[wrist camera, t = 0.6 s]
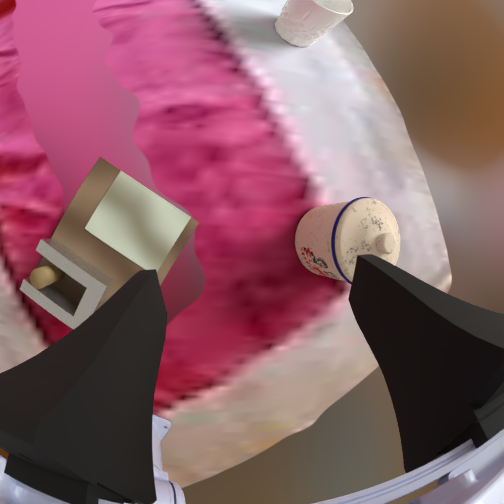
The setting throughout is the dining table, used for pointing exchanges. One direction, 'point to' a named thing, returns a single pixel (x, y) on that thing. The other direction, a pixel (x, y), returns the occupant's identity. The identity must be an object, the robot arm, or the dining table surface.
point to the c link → (78, 270)
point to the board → (116, 231)
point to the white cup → (310, 19)
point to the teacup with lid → (346, 237)
